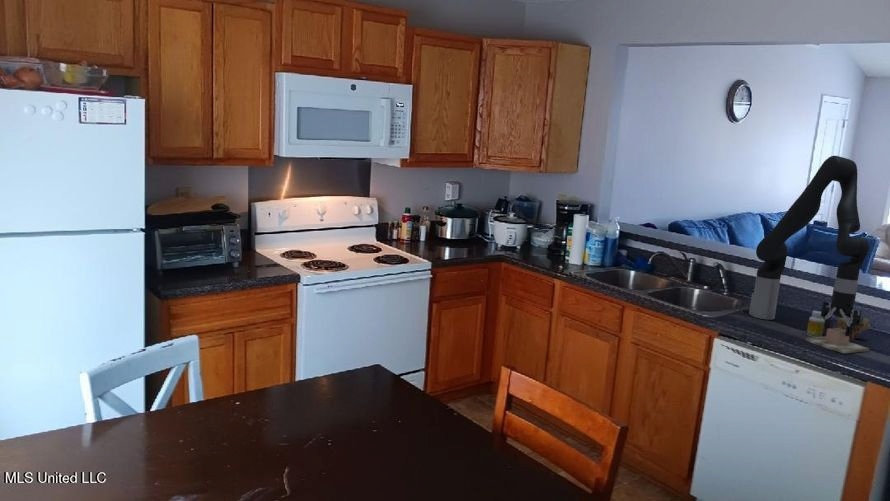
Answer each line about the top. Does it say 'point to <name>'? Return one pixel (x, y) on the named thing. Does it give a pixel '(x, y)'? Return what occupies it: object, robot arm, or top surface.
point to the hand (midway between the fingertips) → (837, 332)
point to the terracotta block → (837, 336)
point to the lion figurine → (856, 329)
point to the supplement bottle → (815, 324)
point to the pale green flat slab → (839, 348)
